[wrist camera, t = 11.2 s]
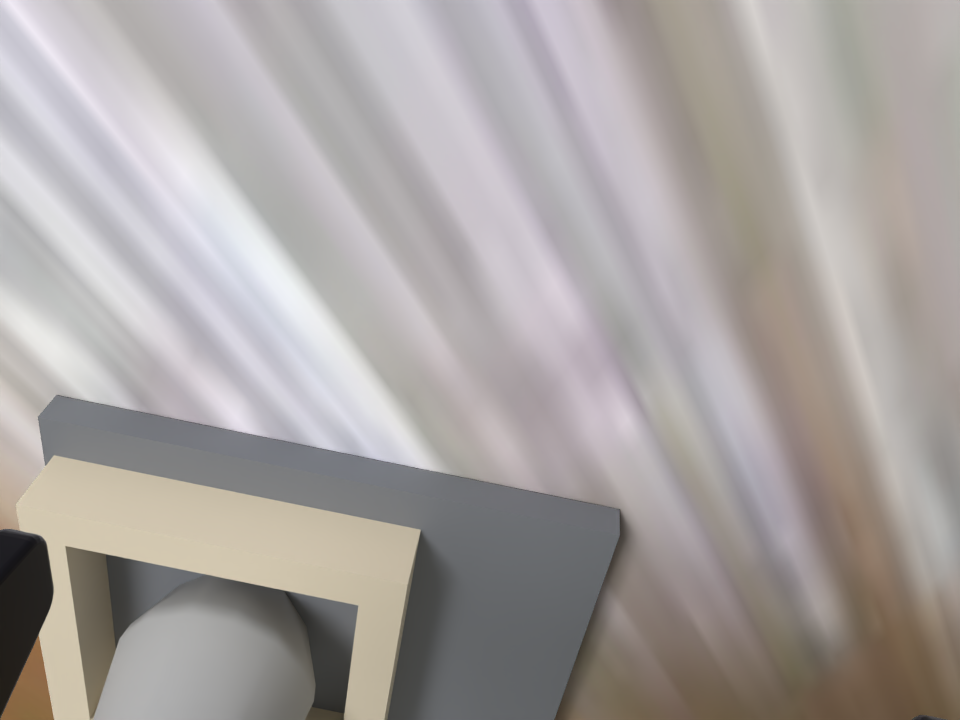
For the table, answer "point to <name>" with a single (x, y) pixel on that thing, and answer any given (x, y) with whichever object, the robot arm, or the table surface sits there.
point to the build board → (315, 563)
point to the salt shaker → (212, 657)
